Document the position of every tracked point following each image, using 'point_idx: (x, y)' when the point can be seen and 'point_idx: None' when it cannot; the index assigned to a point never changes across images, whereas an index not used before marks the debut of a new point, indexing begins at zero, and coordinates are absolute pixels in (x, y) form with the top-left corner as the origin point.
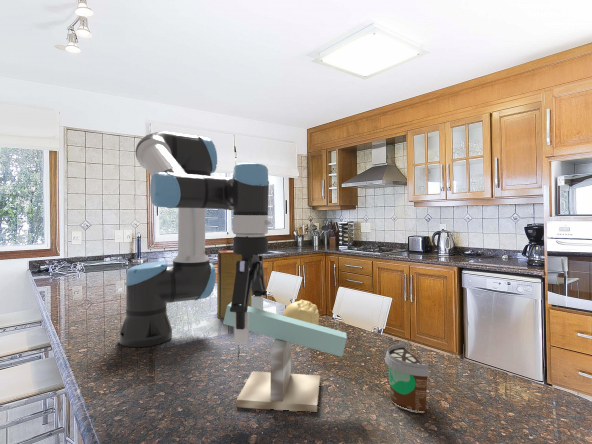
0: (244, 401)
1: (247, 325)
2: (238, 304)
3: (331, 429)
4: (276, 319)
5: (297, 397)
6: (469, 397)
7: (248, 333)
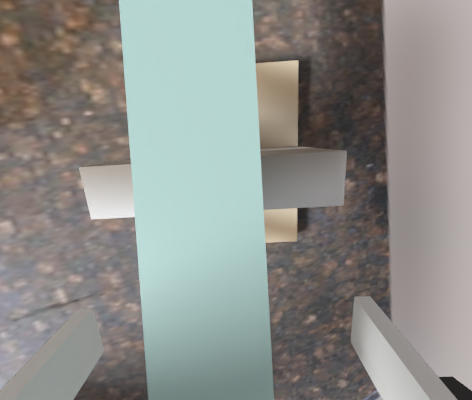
0: (296, 224)
1: (439, 380)
2: None
3: (352, 23)
4: (265, 246)
5: (269, 115)
6: None
7: (385, 333)
